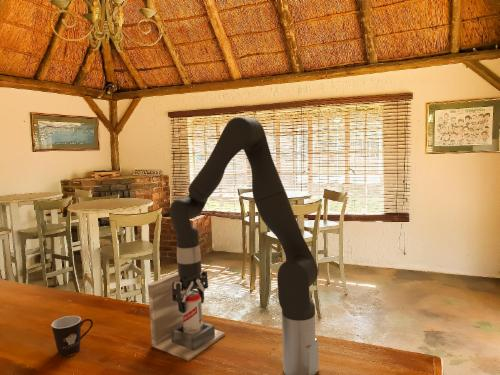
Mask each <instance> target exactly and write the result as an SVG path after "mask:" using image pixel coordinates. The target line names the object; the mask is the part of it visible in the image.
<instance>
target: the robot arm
mask: <svg viewBox="0 0 500 375" xmlns="http://www.w3.org/2000/svg"><path fill="white" fill-rule="evenodd" d="M269 146H270V145H269V142H268V139H267V135H266V132H265V129H264V127H263V124H262V123H261V122H260V121H259V120H258V119H256V118H254V117H249V116H236V117H232V118H231V119H230V120H228V122H227V123H226V125H225V126H224V128H223V131H222V132H221V134H220V137H219V138H218V140H217V142H216V144H215V146H214V147H213V150H212V152H211V153H210V156H209V157H208V158H207V160H206V162H205V163H204V165H203V166H202V168H201V169H200V171H199V172H198V173H197V175H196V176H195V177H194V178H193V180H192V181H191V183H190V184H189V186H188V195H187V196H186V197H183V198H178V199H175V200H174V201H172V203H171V204H170V208H169V216H170V219H171V224H172V227H173V228H174V232H175V234H176V235H175V236H176V262H177V263H176V264H177V272H178V274H179V276H180V281H179V282H177V283H176V282H173V283H172V300H173V301H176V302H178V309H179V311H180V312H181V313H185V312H186V305H185V299H186V296H188V295H189V292H190V291H192V290H197V291H199V294H200V296H201V305H202V304H204V302H205V291H206V289H208V288H209V279H208V272H207V271H205V270H202V258H201V256H202V254H201V248H200V236H199V229H198V228H197V227H196V226H192V224H191V219H194V218H197V217H198V216H199V215H200V214H201V213H202V212H203V210H204V209H205V206H206V204H207V202H208V199H209V198H210V197H211V195H212V194H213V193H214V192H215V191H216V189H217V188H218V186H219V185H220V183H221V181H222V180H223V177H224V174H225V171H226V169H227V167H228V165H229V164H230V163H231V161H232V159H233V158H234V157H235V156H236V155H237V154H238V153H239V152H241V151H244V154H245V156H246V159H247V160H248V163H249V166H250V171H251V191H252V197H253V202H254V203H255V207H256V209H257V211H258V215H259V216H260V218H261V220H262V222H263V223H264V225H265V226H266V227H267V228H268V229H269V231H271V232H272V234H273V235H274V236H275V237H276V238H277V239H278V242H279V244H280V245H281V247H282V250H283V252H284V256H285V258H286V261H284V262H282V263H281V265H280V266H279V268H278V271H277V281H276V282H277V296H278V303H279V306H280V308H281V327H282V328H281V330H282V331H281V332H282V336H281V337H282V366H283V368H282V369H283V373H284V375H316V374H317V373H318V371H320V370H319V369H320V368H319V367H320V366H319V360H320V359H319V339H318V338H316V305H315V303H314V302H313V301H312V300H310V299H311V298H310V297H311V296H310V287H311V286H312V285H313V284H314V283H315V282H316V281H317V279H318V277H319V269H318V265H317V262H316V260H315V258H314V256H313V254H312V251H311V250H310V248H309V246H308V244H307V241H306V240H305V238H304V236H303V233H302V231H301V229H300V226H299V222H298V221H297V218H296V216H295V213H294V211H293V207H292V205H291V202H290V200H289V199H290V198H289V196H288V194H287V192H286V189H285V186H284V185H283V182H282V180H281V177H280V175H279V171H278V169H277V167H276V165H275V163H274V160H273V156H272V154H271V150H270V147H269ZM183 289H184V290H185V292H184V291H183ZM176 295H177V297H176ZM182 295H183V297H182ZM181 297H182V298H181Z"/></svg>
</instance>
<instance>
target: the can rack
mask: <svg viewBox="0 0 500 375" xmlns="http://www.w3.org/2000/svg"><path fill="white" fill-rule="evenodd" d="M179 281H180V276H179V274H178V271H177V272H175V273H173V274H170V275H167V276H165V277H162V278H160V279H158V280H156V281H153V282H151V283H147V290H148V292H147V293H148V305H149V308H148V309H149V321H150V333H151V334H150V335H151V336H150V337H151V347H152V348H155V349H158V350H160V351H162V352H166V353H167V354H170V355H172V356H174V357H178V358H180V359H182V360H185V361H187V362H189V361H191V360H192V359H193V358H194V357H196V356H198V355H199V354H201V353H202V352H203V351H204V350H206V349H207V348H209V347H210V346H212V345H214V344H215V343H217V342H218V341H219V340H221V339H222V338H224V337H225V336H226V332H224V331H221V330H217V329H215V325H214V324H211V323H207V322H204V321H202V324H203V330H202V331H201V332H199V333H198V334H196V335H194V336H192V335H189V334H186V333H184V329H183V313H181V312H180V311H179V309H178V302H176V301H173V300H172V283H173V282H176V283H177V282H179ZM183 291H184V292H185V290H184V289H183ZM176 297H177V295H176ZM182 297H183V295H182ZM182 297H181V298H182Z"/></svg>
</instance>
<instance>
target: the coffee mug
mask: <svg viewBox="0 0 500 375" xmlns="http://www.w3.org/2000/svg"><path fill="white" fill-rule="evenodd" d="M87 321H89V322H90V326H89V327H88V329H87V330H86V331H85V332H84V333H83V334H82V335H81V331H82V328H81V327H82V326H83V324H84V323H85V322H87ZM93 325H94V321H93V320H92V319H90V318H85V319H83V320H82V318H81V316H78V315H68V316H63V317H60V318H57V319H55V320H54V321H53V322H51V325H50V326H51V329H52V333H53V334H52V335H53V337H54V342H55V346H56V350H57V354H58V356H59V355H61V356H60V357H62V356H67V355H71V354H74V353H76V352H77V353H78V351H79V352H80V350H81V340H82V339H83V338H84V337H85V336H86V335H87V334H88V333H89V332H90V331H91V329H92V327H93ZM77 353H76V354H77ZM74 355H75V354H74ZM71 356H72V355H71ZM67 357H68V356H67Z"/></svg>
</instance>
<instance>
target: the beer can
mask: <svg viewBox="0 0 500 375" xmlns="http://www.w3.org/2000/svg"><path fill="white" fill-rule="evenodd" d="M185 305H186V312H185V313H183V329H184V333H186V334H189V335H192V336H194V335H196V334H198V333H199V332H201V331H202V330H203V324H202V322H203V311H202V310H203V309H202V307H203V306H202V304H201V296H200V294H199V291H197V289H193V290H192V291H190V292H189V295H188V296H186V299H185Z"/></svg>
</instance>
